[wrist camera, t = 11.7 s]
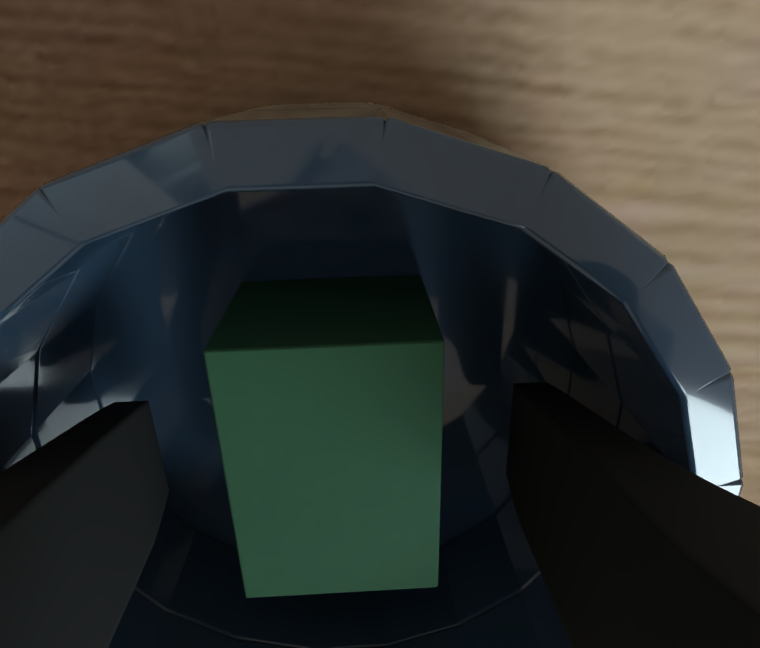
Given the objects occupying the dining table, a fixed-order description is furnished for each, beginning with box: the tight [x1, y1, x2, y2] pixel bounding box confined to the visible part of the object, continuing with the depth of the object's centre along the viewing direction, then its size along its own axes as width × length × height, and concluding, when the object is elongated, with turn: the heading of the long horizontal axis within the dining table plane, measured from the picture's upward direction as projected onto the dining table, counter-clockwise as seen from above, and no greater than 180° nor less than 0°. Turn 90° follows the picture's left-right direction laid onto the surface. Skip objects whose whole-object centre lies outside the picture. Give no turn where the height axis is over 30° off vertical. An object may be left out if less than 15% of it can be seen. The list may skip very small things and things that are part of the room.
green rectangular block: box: [203, 275, 445, 598], centre depth 10 cm, size 5×4×3 cm
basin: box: [0, 102, 743, 648], centre depth 10 cm, size 11×11×5 cm
